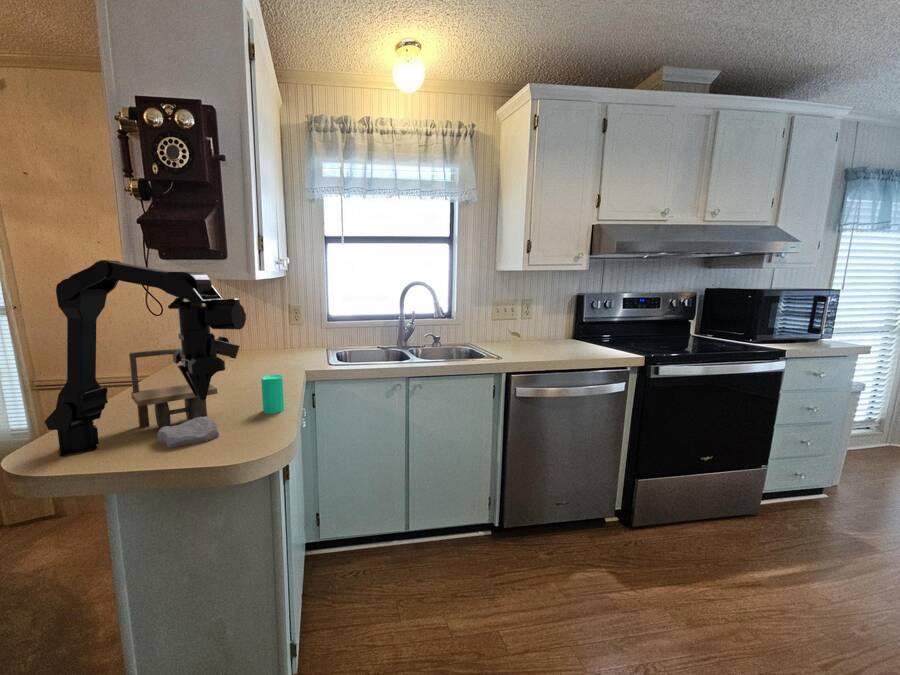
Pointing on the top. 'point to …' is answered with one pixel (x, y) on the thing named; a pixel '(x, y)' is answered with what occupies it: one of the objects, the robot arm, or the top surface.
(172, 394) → the wooden chair
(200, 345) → the robot arm
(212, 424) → the stone block
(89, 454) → the top surface
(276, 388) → the candle
